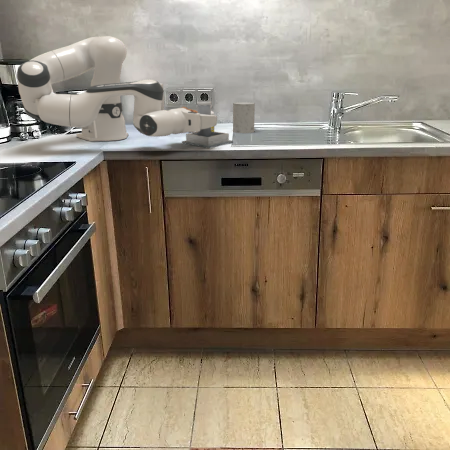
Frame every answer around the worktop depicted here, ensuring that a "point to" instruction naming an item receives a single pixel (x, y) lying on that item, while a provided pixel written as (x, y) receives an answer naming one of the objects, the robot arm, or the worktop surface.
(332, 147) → the worktop surface
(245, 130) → the grey cylinder
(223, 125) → the worktop surface
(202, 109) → the post
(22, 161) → the worktop surface
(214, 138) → the grey square tray
